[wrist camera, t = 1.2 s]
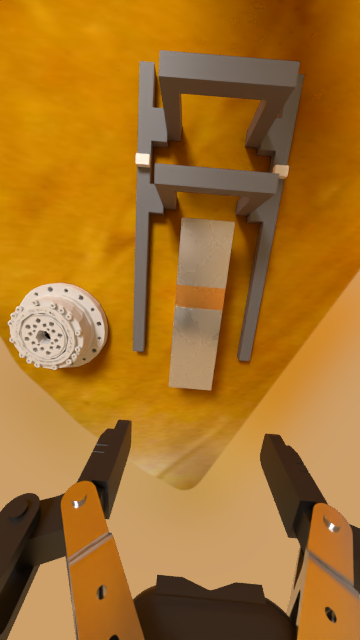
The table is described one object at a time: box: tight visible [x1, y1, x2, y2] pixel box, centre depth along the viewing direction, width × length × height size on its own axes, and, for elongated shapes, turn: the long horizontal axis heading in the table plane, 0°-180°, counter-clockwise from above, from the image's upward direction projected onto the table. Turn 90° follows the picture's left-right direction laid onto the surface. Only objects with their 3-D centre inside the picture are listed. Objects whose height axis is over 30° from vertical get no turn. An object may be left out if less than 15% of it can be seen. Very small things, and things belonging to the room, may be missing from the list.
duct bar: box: [169, 218, 235, 390], centre depth 21 cm, size 16×4×4 cm, turn 175°
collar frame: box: [133, 50, 304, 361], centre depth 18 cm, size 26×14×7 cm, turn 175°
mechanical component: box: [8, 283, 108, 370], centre depth 22 cm, size 10×4×10 cm
